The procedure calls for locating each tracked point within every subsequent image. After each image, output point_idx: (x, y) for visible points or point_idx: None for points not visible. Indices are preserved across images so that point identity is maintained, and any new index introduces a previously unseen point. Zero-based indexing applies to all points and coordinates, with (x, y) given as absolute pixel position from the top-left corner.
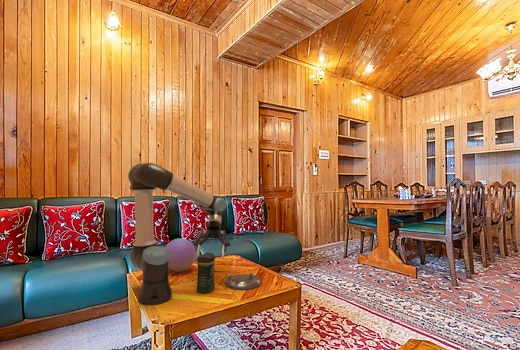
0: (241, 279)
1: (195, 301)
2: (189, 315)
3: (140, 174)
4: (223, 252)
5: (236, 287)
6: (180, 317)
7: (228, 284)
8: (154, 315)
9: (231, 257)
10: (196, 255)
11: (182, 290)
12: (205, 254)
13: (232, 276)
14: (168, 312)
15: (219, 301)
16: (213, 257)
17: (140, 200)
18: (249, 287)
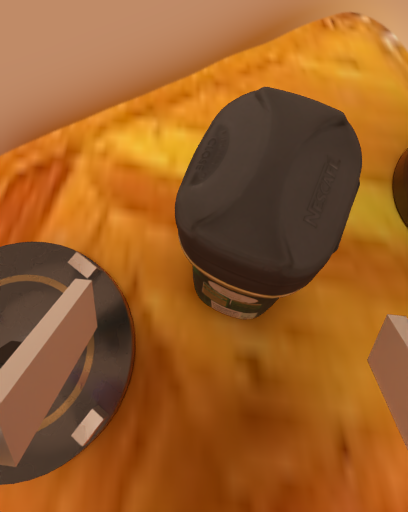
0: None
1: None
2: (277, 47)
3: None
4: (57, 304)
5: (75, 251)
6: (305, 38)
7: (113, 289)
8: (403, 56)
9: None
10: (404, 318)
11: (365, 276)
12: (282, 136)
13: (71, 439)
14: (359, 72)
15: (170, 139)
16: (189, 166)
17: None
18: (8, 246)
